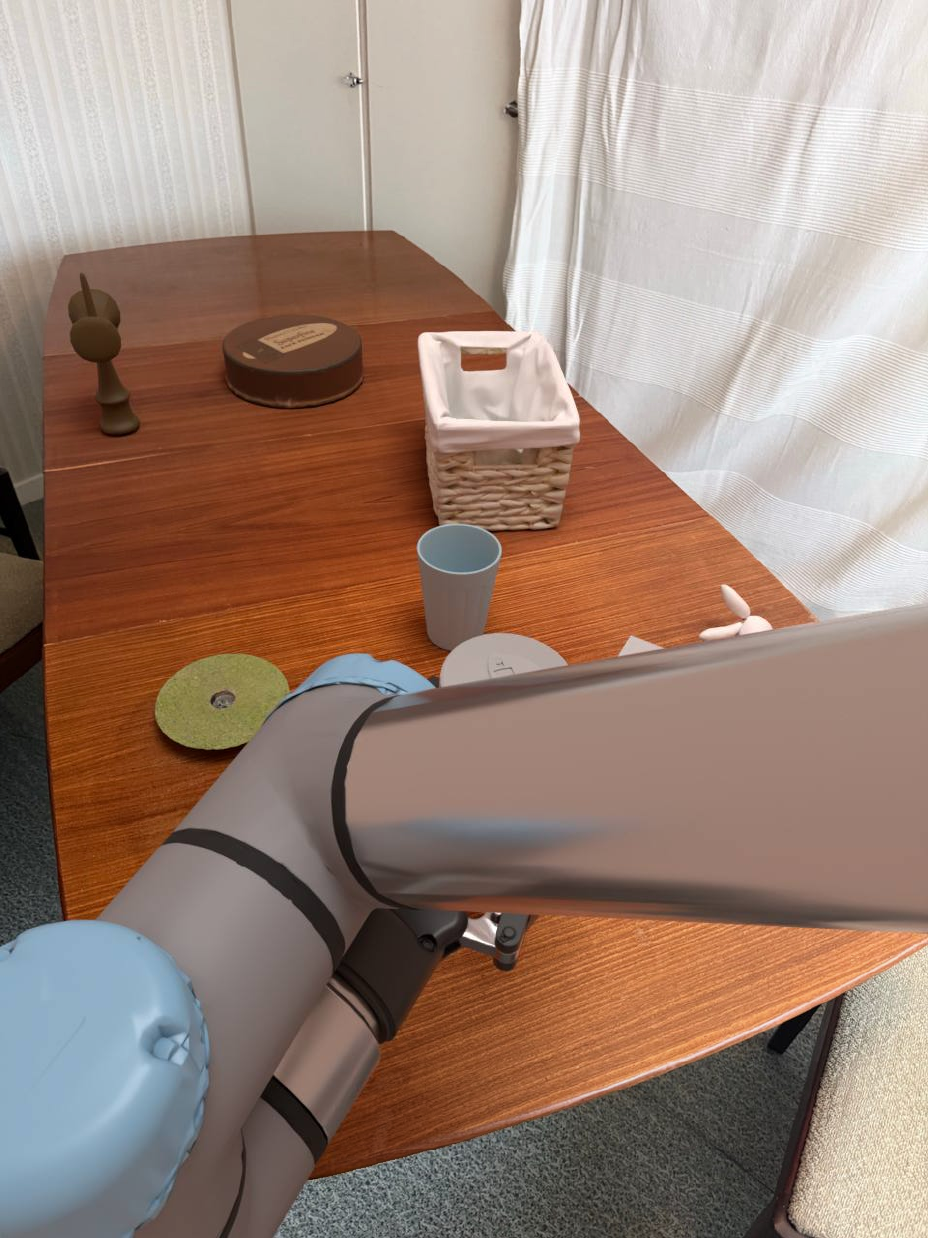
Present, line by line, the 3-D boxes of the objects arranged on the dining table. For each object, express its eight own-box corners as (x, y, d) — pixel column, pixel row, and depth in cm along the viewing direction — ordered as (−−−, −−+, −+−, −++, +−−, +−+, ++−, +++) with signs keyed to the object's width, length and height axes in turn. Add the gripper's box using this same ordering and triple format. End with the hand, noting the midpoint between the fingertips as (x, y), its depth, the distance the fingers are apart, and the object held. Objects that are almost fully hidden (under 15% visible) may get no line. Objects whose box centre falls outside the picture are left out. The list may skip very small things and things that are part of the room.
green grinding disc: (308, 678, 76) (306, 663, 75) (264, 774, 68) (261, 759, 67) (192, 659, 77) (189, 644, 76) (135, 751, 69) (130, 735, 68)
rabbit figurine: (771, 677, 79) (703, 634, 78) (748, 678, 83) (683, 637, 82) (796, 624, 80) (730, 580, 79) (772, 627, 84) (709, 586, 83)
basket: (569, 538, 95) (587, 420, 85) (428, 542, 93) (429, 422, 83) (534, 435, 113) (546, 328, 103) (415, 436, 111) (415, 328, 101)
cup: (399, 631, 82) (399, 545, 75) (454, 597, 86) (458, 513, 79) (454, 671, 78) (459, 584, 71) (508, 633, 82) (518, 548, 75)
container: (282, 423, 112) (277, 380, 108) (199, 375, 122) (192, 334, 118) (391, 380, 123) (391, 340, 119) (307, 339, 133) (304, 300, 129)
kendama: (142, 409, 114) (107, 257, 100) (146, 442, 107) (110, 284, 94) (96, 414, 112) (54, 260, 99) (97, 448, 105) (53, 288, 92)
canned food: (507, 736, 57) (520, 615, 50) (581, 818, 52) (608, 697, 45) (411, 783, 54) (411, 661, 47) (481, 876, 49) (493, 755, 42)
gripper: (160, 930, 43) (398, 666, 58) (519, 1158, 36) (683, 789, 51) (127, 846, 38) (397, 582, 53) (536, 1092, 31) (712, 705, 46)
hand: (537, 683), depth 52 cm, fingers closed on canned food, 8 cm apart
